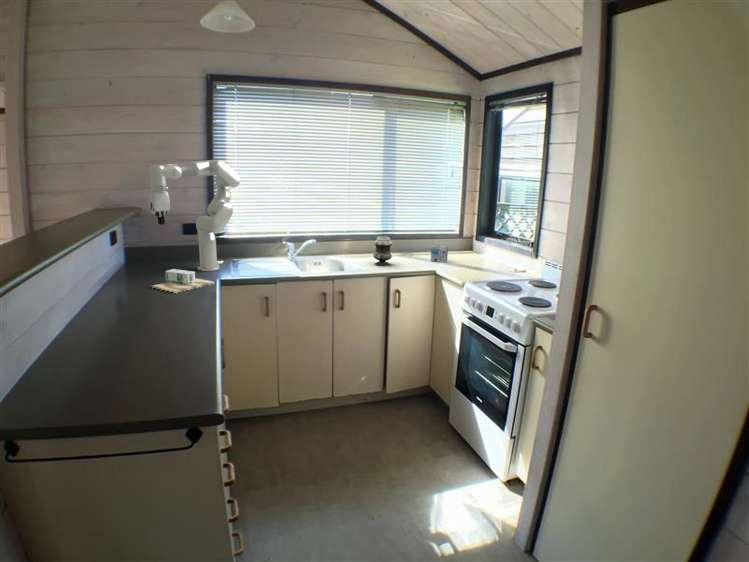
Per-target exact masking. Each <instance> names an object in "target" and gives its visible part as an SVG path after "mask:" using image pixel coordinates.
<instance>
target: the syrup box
mask: <svg viewBox="0 0 749 562" xmlns="http://www.w3.org/2000/svg"><path fill="white" fill-rule="evenodd" d="M164 272H165V283H166V282H173V283H180V284H192V283H195V278H196V272H195V271H191V270H183V269H175V268H172V269H168V270H165V271H164Z"/></svg>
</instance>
